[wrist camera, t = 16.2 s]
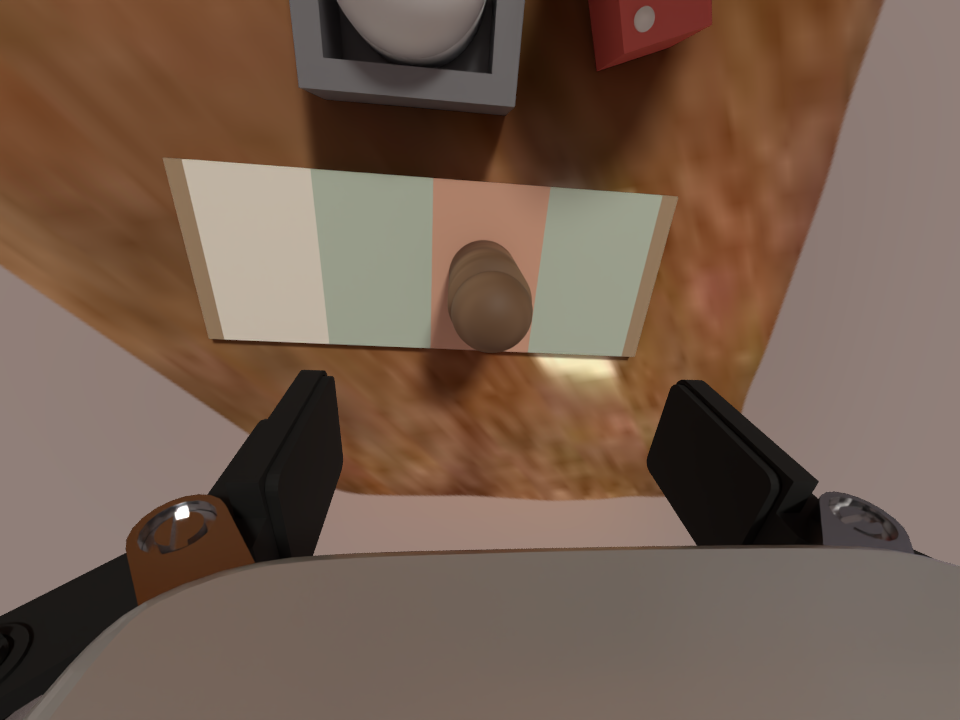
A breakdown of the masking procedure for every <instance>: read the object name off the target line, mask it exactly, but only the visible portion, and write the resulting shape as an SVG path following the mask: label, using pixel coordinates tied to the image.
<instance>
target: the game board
mask: <svg viewBox="0 0 960 720" xmlns="http://www.w3.org/2000/svg"><path fill="white" fill-rule="evenodd" d="M163 161H164V165H165V169H166V173H167V177H168V181H169V185H170V189H171V192H172V196H173V200H174V204H175V208H176V212H177V216H178V220H179V224H180V228H181V231H182V235H183V239H184V243H185V247H186V251H187V255H188V259H189V263H190V267H191V270H192V274H193V278H194V282H195V286H196V290H197V294H198V298H199V302H200V306H201V310H202V313H203V317H204V321H205V325H206V329H207V333H208V337H209V339H226V340H249V341H273V342H296V343H319V344H343V345H366V346H389V347H413V348H436V349H459V350H475V349H473V348H471V347H470V346H468V345H467V344H466V343H465V342H464V341H463V340H462V339H461V338H460V337H459V335H458V334H457V332H456V330H455V328H454V326H453V323H452V321H451V319H450V316H449V313H448V303H447V302H448V284H449V269H450V265H451V262H452V259H453V258H454V256H455V254H456V253H457V252H458V251H459V250H460V249H461V248H462V247H463V246H465V245H467V244H468V243H471V242H474V241H478V240H488V241H493V242H496V243H498V244H500V245H501V246H503V247H504V248H505V249H506V250H507V251H508V252H509V253H510V254H511V256H512V257H513V259H514V261H515V263H516V264H517V266H518V268H519V269H520V271H521V273H522V275H523V276H524V278H525V280H526V281H527V283H528V285H529V288H530V291H531V295H532V307H533V315H532V322H531V325H530V328H529V330H528V332H527V334H526V335H525V337H524V338H523V339H522V340H521V341H520V342H519V343H518V344H517V345H515V346H514V347H512V348H510V349H508V350H506V352H529V353H553V354H576V355H599V356H623V357H635V353H636V350H637V346H638V342H639V339H640V335H641V331H642V328H643V324H644V321H645V317H646V313H647V310H648V306H649V302H650V299H651V295H652V291H653V288H654V284H655V280H656V277H657V273H658V269H659V266H660V262H661V258H662V255H663V251H664V247H665V244H666V240H667V236H668V233H669V229H670V225H671V222H672V218H673V214H674V211H675V207H676V204H677V200H678V197H676V196H666V195H653V194H640V193H626V192H613V191H600V190H587V189H574V188H560V187H547V186H534V185H521V184H508V183H494V182H481V181H468V180H455V179H442V178H428V177H415V176H402V175H389V174H376V173H362V172H349V171H336V170H323V169H310V168H296V167H283V166H270V165H257V164H244V163H230V162H217V161H204V160H191V159H178V158H163Z"/></svg>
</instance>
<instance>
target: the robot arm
mask: <svg viewBox="0 0 960 720" xmlns="http://www.w3.org/2000/svg"><path fill="white" fill-rule="evenodd" d="M342 465H343V453H342V443H341V434H340V425H339V416H338V407H337V398H336V389H335V381H334V377H333V376H327V373H326V372H325V371H320V370H301V371H300V373H299V374H298V375H297V377H296V378H295V380H294V381H293V383H292V384H291V386H290V387H289V389H288V390H287V392H286V393H285V395H284V396H283V398H282V399H281V400H280V402H279V403H278V405H277V406H276V408H275V409H274V411H273V412H272V414H271V415H270V417H269V418H268V419H264V420H261V421H260V422H259V423H258V424H257V425H256V427H255V428H254V430H253V431H252V432H251V434H250V435H249V437H248V438H247V440H246V441H245V442H244V444H243V445H242V447H241V448H240V449H239V451H238V452H237V454H236V455H235V457H234V458H233V459H232V461H231V462H230V464H229V465H228V467H227V468H226V469H225V471H224V472H223V474H222V475H221V476H220V478H219V479H218V481H217V482H216V483H215V485H214V486H213V488H212V489H211V490H210V492H209V493H208V495H200V494H198V495H191V496H185V497H181V498H178V499H175V500H172V501H170V502H168V503H166V504H164V505H162V506H160V507H158V508H156V509H154V510H153V511H151V512H150V513H149V514H147V515H146V516H145V517H143V518H142V519H141V520H140V521H139V522H138V523H137V524H136V525H135V526H134V527H133V528H132V530H131V532H130V534H129V536H128V537H127V539H126V553H125V554H123V555H121V556H119V557H117V558H115V559H113V560H111V561H109V562H107V563H105V564H103V565H101V566H99V567H97V568H95V569H93V570H91V571H89V572H87V573H86V574H83V575H81V576H79V577H78V578H75V579H73V580H71V581H69V582H68V583H66V584H63V585H62V586H59V587H58V588H56V589H54V590H52V591H50V592H48V593H46V594H44V595H42V596H40V597H38V598H36V599H34V600H32V601H30V602H28V603H26V604H24V605H22V606H20V607H18V608H16V609H14V610H12V611H10V612H8V613H6V614H4V615H2V616H0V720H960V566H957V565H954V564H951V563H947V562H943V561H940V560H936V559H933V558H931V557H929V556H927V555H925V554H922V553H920V552H918V551H916V550H913V548H912V545H911V542H910V539H909V536H908V534H907V532H906V531H905V529H904V528H903V527H902V526H901V524H899V522H897V521H896V519H894V518H893V517H892V516H890V515H889V514H887V513H886V512H885V511H884V510H882V509H880V508H879V507H877V506H875V505H873V504H871V503H870V502H867V501H865V500H863V499H861V498H858V497H855V496H852V495H849V494H846V493H840V492H826V493H824V494H822V495H821V496H820V498H819V499H817V497H815V496H814V495H813V494H812V492H813V490H814V489H815V487H816V485H817V484H818V480H817V479H815V478H814V477H813V476H812V475H811V474H810V473H809V472H807V471H806V470H805V469H804V468H803V467H802V466H800V465H799V464H798V463H797V462H796V461H795V460H794V459H792V458H791V457H790V456H789V455H788V454H787V453H786V452H784V451H783V450H782V449H781V448H780V447H779V446H778V445H776V444H775V443H774V442H773V441H772V440H771V439H770V438H768V437H767V436H766V435H765V434H764V433H763V432H761V431H760V430H759V429H758V428H757V427H756V426H754V425H753V424H752V423H751V422H750V421H749V420H748V419H746V418H745V417H744V416H743V415H742V414H741V413H740V412H739V411H737V410H736V409H735V408H734V407H733V406H732V405H731V404H729V403H728V402H727V401H726V400H725V399H724V398H723V397H721V396H720V395H719V394H718V393H717V392H716V391H715V390H713V389H712V388H711V387H710V386H709V385H708V384H706V383H705V382H704V381H702V380H680V381H678V382H677V384H676V385H673V386H672V387H671V389H670V391H669V394H668V397H667V400H666V403H665V406H664V409H663V412H662V415H661V418H660V421H659V424H658V427H657V430H656V433H655V436H654V439H653V442H652V445H651V448H650V451H649V454H648V457H647V467H648V470H649V472H650V473H651V475H652V476H653V478H654V479H655V481H656V483H657V484H658V486H659V487H660V489H661V490H662V492H663V493H664V495H665V497H666V498H667V500H668V501H669V503H670V504H671V506H672V507H673V509H674V511H675V512H676V514H677V515H678V517H679V518H680V520H681V521H682V523H683V524H684V526H685V527H686V529H687V531H688V532H689V534H690V535H691V537H692V538H693V540H694V541H695V543H696V545H697V546H645V547H644V546H642V547H590V548H589V547H587V548H534V549H493V550H450V551H411V552H381V553H354V554H335V555H320V556H313V554H314V550H315V548H316V545H317V542H318V539H319V535H320V533H321V530H322V527H323V524H324V521H325V518H326V515H327V512H328V509H329V506H330V503H331V500H332V497H333V494H334V491H335V488H336V485H337V482H338V479H339V476H340V473H341V470H342Z"/></svg>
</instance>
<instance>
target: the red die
mask: <svg viewBox="0 0 960 720" xmlns="http://www.w3.org/2000/svg"><path fill="white" fill-rule="evenodd" d="M588 3H589V11H590V20H591V28H592V36H593V44H594V53H595V61H596V69H597V71H600V70H603V69H606V68H609V67H612V66H615V65H618V64H621V63H624V62H627V61H630V60H633V59H636V58H639V57H642V56H645V55H648V54H651V53H654V52H657V51H660V50H663V49H667V48H670V47H671V46H673V45H675V44H677V43H679V42H681V41H683V40H684V39H686V38H688V37H690V36H692V35H694V34H696V33H697V32H699V31H701V30H703V29H705V28H707V27H709V26H710V25H712V0H588Z"/></svg>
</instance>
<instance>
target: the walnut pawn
mask: <svg viewBox="0 0 960 720" xmlns="http://www.w3.org/2000/svg"><path fill="white" fill-rule="evenodd" d="M447 303H448V313H449V316H450V319H451V321H452V323H453V326H454V328H455V330H456V332H457V334H458V335H459V337H460V338H461V339H462V340H463V341H464V342H465V343H466V344H467V345H468V346H470V347H471V348H473V349H475V350H478V351H481V352H485V353H497V352H502V351H506V350H508V349H510V348H512V347H514V346H515V345H517V344H518V343H519V342H520V341H521V340H522V339H523V338H524V337H525V335H526V334H527V332H528V330H529V328H530V325H531V322H532V315H533V307H532V295H531V291H530V288H529V285H528V283H527V281H526V280H525V278H524V276H523V275H522V273H521V271H520V269H519V268H518V266H517V264H516V263H515V261H514V259H513V257H512V256H511V254H510V253H509V252H508V251H507V250H506V249H505V248H504V247H503V246H501V245H500V244H498V243H496V242H493V241H488V240H478V241H474V242H471V243H468V244H467V245H465V246H463V247H462V248H461V249H460V250H459V251H458V252H457V253H456V254H455V256H454V258H453V259H452V262H451V265H450V269H449V284H448V302H447Z"/></svg>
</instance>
